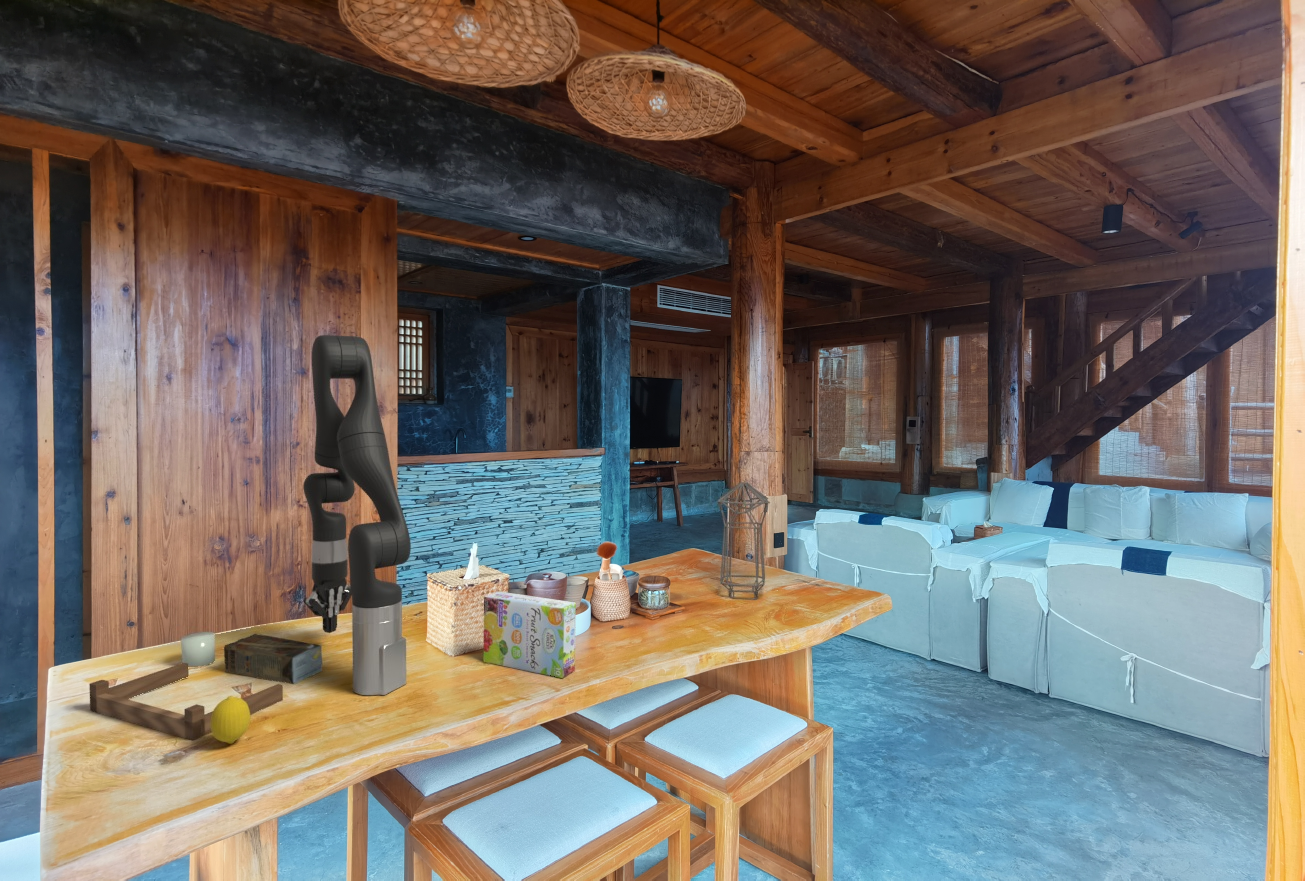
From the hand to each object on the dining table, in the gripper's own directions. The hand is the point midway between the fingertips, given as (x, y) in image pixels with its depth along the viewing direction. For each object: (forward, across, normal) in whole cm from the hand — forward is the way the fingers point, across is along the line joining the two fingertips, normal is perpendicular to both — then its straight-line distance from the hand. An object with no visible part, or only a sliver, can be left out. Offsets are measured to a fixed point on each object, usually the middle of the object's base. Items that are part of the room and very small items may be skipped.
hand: (330, 631), depth 153 cm
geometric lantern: (+4, +84, -78) cm, 114 cm away
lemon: (+4, -39, -21) cm, 45 cm away
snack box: (+4, +9, -48) cm, 49 cm away
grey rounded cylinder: (+4, -18, +19) cm, 26 cm away
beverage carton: (+4, -15, 0) cm, 16 cm away
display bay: (+4, -32, 0) cm, 33 cm away
